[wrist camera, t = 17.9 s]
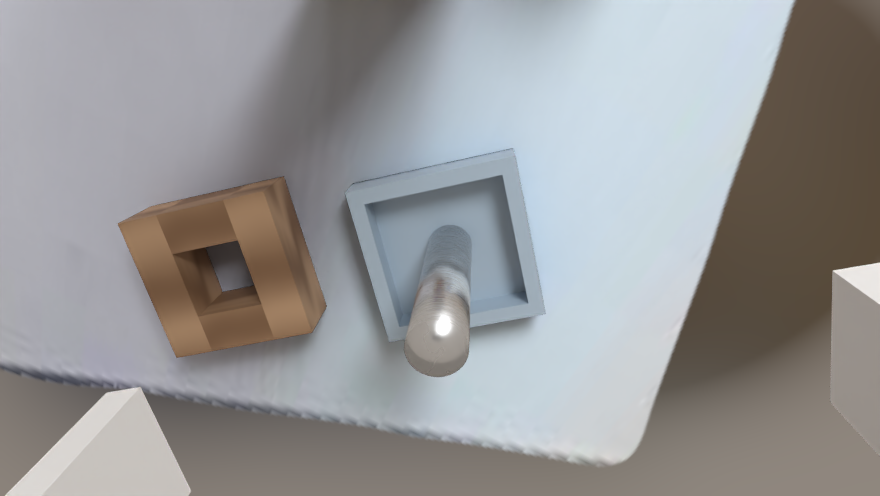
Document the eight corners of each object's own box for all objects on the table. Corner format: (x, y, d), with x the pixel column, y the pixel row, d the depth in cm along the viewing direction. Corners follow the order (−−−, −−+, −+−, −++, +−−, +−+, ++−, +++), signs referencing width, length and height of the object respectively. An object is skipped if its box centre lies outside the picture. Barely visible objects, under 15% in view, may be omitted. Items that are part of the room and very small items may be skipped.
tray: (352, 183, 39) (344, 192, 37) (513, 148, 38) (515, 155, 35) (394, 325, 43) (389, 342, 40) (541, 298, 41) (545, 313, 39)
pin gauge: (423, 229, 39) (397, 326, 26) (466, 220, 39) (461, 314, 26) (434, 269, 40) (413, 381, 27) (476, 261, 40) (475, 370, 27)
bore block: (150, 206, 41) (117, 223, 37) (283, 176, 39) (263, 191, 36) (202, 330, 44) (176, 357, 40) (326, 306, 42) (312, 332, 39)
